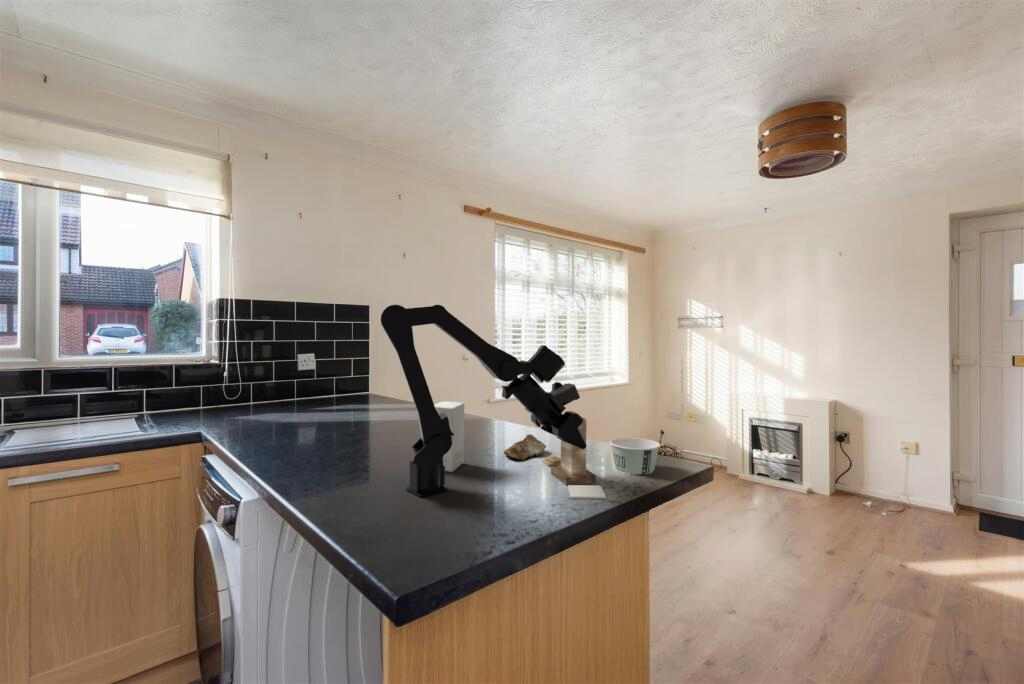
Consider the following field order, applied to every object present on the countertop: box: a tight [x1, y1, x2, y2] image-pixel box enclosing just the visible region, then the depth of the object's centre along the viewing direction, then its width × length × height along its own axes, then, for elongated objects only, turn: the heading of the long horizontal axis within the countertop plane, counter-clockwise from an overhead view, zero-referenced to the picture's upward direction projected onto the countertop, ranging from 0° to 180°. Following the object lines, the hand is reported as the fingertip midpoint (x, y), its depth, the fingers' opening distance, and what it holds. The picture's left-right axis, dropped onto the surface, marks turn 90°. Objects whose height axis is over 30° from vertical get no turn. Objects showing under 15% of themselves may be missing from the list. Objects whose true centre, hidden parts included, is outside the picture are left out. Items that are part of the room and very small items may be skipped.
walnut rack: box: [550, 466, 597, 486], centre depth 107 cm, size 7×9×2 cm
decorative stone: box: [503, 434, 547, 461], centre depth 127 cm, size 10×4×15 cm
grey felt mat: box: [567, 484, 607, 500], centre depth 97 cm, size 7×7×1 cm
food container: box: [609, 437, 662, 475], centre depth 114 cm, size 12×12×6 cm
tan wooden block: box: [560, 416, 587, 476], centre depth 106 cm, size 4×6×14 cm, turn 16°
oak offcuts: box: [542, 455, 561, 468], centre depth 118 cm, size 4×5×1 cm
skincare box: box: [434, 401, 465, 473], centre depth 115 cm, size 8×7×16 cm
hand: (578, 444), depth 107 cm, fingers closed on tan wooden block, 6 cm apart
